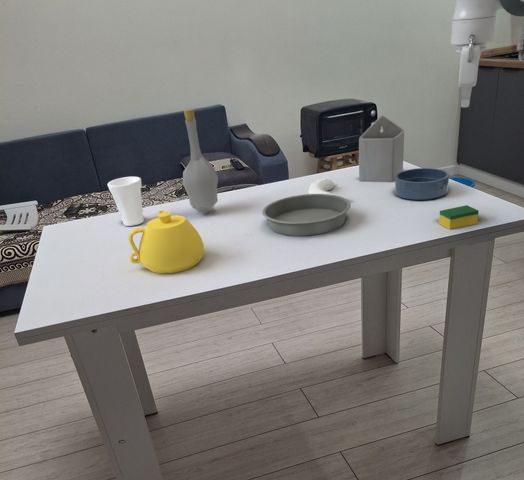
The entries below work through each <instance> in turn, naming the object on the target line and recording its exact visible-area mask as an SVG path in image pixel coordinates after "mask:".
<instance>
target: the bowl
mask: <svg viewBox="0 0 524 480" xmlns="http://www.w3.org/2000/svg"><path fill="white" fill-rule="evenodd" d="M449 180H450V174H449V172H448V171H446V170H444V169H440V168H433V167H418V168H410V169H406V170H403V171H402V172H400V173H398V174H397V175H396V176H395V180H394V194H395V195H396V196H397V197H400V198H403V199H406V200H410V201H411V200H413V201H428V200H434V199H436V198H440V197H443V196H445V195H446V194H447V193H448V192H449V182H450V181H449Z"/></svg>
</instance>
